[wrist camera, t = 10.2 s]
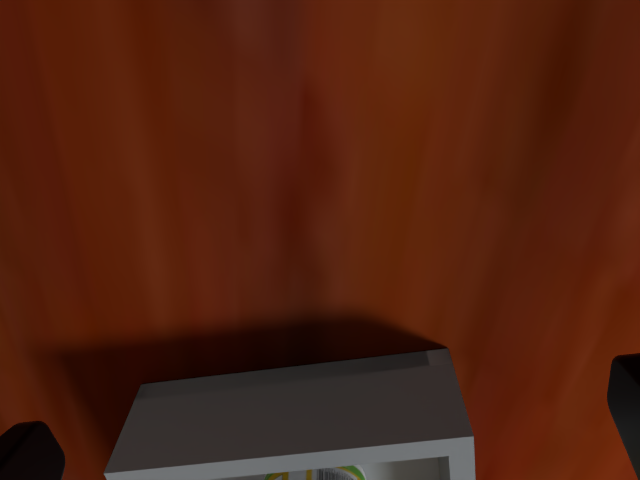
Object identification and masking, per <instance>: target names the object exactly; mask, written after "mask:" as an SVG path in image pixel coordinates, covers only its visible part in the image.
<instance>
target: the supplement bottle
mask: <svg viewBox="0 0 640 480" xmlns="http://www.w3.org/2000/svg"><path fill="white" fill-rule="evenodd" d="M264 480H366V477H365V473H364V471H363V469H362V467H361V466H360V465H352V466H342V467H331V468H321V469H311V470H301V471H290V472H280V473H270V474H265V477H264Z"/></svg>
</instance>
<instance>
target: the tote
mask: <svg viewBox="0 0 640 480" xmlns="http://www.w3.org/2000/svg"><path fill="white" fill-rule="evenodd" d="M352 465H360V466H361V467H362V469H363V471H364V473H365V477H366V480H475V458H474V436H473V432H472V429H471V425H470V422H469V418H468V415H467V412H466V408H465V405H464V401H463V398H462V394H461V391H460V387H459V384H458V380H457V377H456V374H455V370H454V367H453V363H452V360H451V356H450V353H449V349H448V348H447V349H438V350H429V351H421V352H412V353H404V354H395V355H387V356H378V357H370V358H361V359H353V360H344V361H336V362H327V363H319V364H310V365H302V366H293V367H285V368H276V369H267V370H259V371H250V372H242V373H233V374H225V375H216V376H208V377H199V378H191V379H182V380H174V381H165V382H157V383H148V384H141V386H140V388H139V391H138V393H137V395H136V398H135V400H134V402H133V405H132V407H131V410H130V412H129V414H128V417H127V419H126V422H125V424H124V426H123V429H122V431H121V433H120V436H119V438H118V441H117V443H116V445H115V448H114V450H113V452H112V455H111V457H110V460H109V462H108V464H107V467H106V469H105V472H104V475H105V477H106V479H107V480H264V477H265V474H270V473H280V472H290V471H301V470H311V469H321V468H331V467H342V466H352Z"/></svg>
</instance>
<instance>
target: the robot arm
mask: <svg viewBox="0 0 640 480" xmlns="http://www.w3.org/2000/svg"><path fill="white" fill-rule="evenodd" d="M607 401H608V406H609V409H610V412H611V415H612V417H613V420H614V422H615V424H616V427H617V429H618V432H619V434H620V436H621V439H622V441H623V444H624V446H625V449H626V451H627V453H628V456H629V458H630V461H631V463H632V465H633V468H634V470H635V473H636V475H637V478H638V480H640V353H636V354H627V355H619V356H616V357H615V358H614V359H613V360H612V364H611V371H610V378H609V385H608V392H607ZM64 468H65V456H64V452H63V450H62V449H61V447H60V445H59V444H58V442H57V440H56V439H55V437H54V435H53V434H52V432H51V431H50V429H49V427H48V426H47V425H46V424H45V423H44V422H42V421H32V422H23V423H18V424H16V425H14V426H12V427H11V428H10V429H9V430H7V431H6V432H5V433H4V434H2V435H1V436H0V480H62V476H63V472H64Z"/></svg>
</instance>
